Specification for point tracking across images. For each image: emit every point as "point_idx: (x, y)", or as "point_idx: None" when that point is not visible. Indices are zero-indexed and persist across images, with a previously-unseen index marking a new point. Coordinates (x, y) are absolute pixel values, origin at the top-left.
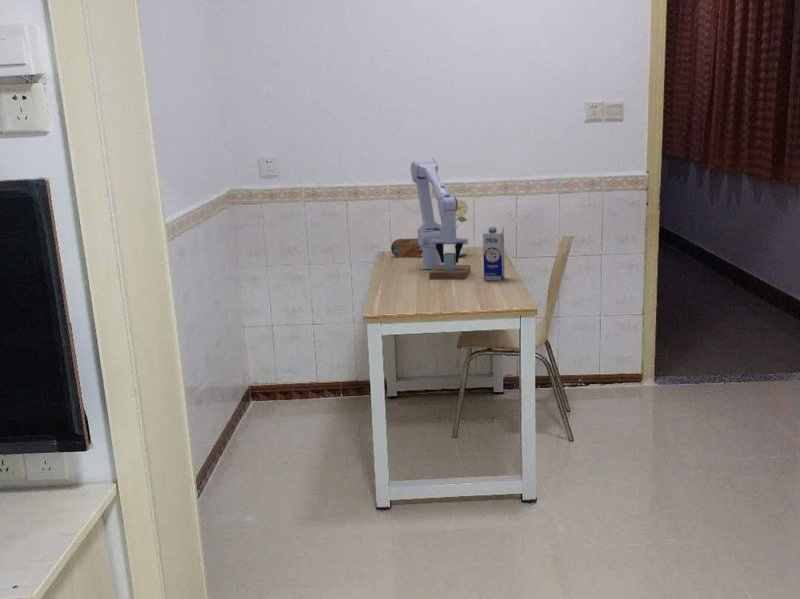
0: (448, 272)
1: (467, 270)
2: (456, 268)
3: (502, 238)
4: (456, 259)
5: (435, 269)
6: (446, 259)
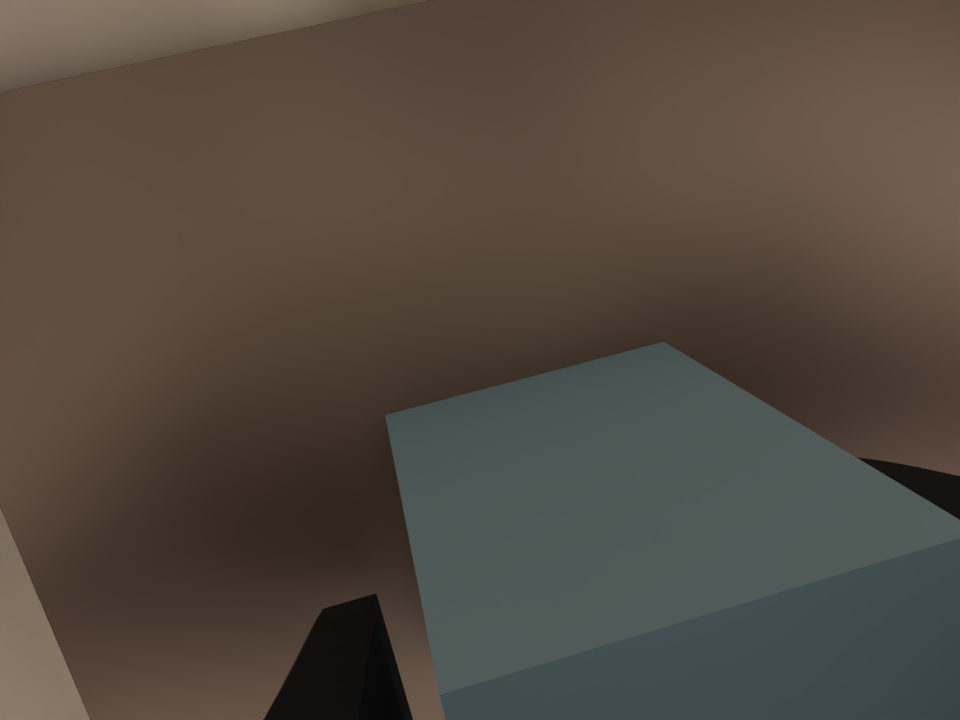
0: (425, 55)
1: (36, 558)
2: (409, 613)
3: None
4: (337, 655)
5: (909, 363)
6: (728, 477)
